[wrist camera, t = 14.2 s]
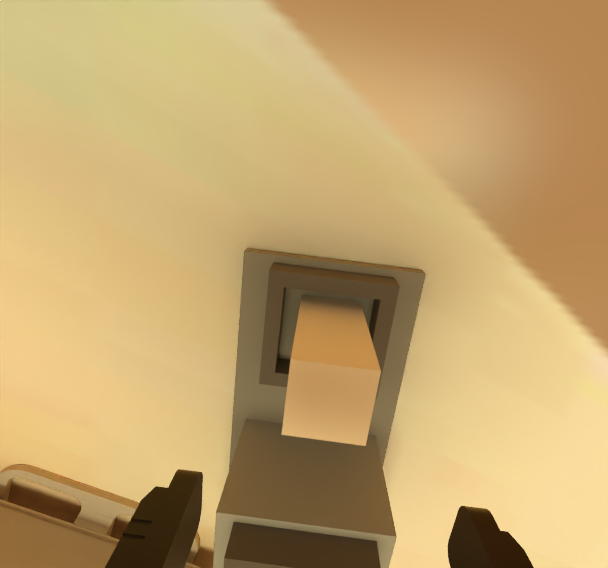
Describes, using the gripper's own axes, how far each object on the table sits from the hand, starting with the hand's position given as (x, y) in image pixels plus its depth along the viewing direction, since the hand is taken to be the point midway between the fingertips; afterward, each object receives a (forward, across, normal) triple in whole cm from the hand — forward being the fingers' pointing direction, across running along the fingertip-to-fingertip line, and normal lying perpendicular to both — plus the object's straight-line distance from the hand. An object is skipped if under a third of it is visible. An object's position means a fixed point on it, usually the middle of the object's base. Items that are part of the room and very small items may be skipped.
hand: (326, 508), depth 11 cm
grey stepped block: (+15, 0, +7) cm, 17 cm away
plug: (+14, 0, 0) cm, 14 cm away
